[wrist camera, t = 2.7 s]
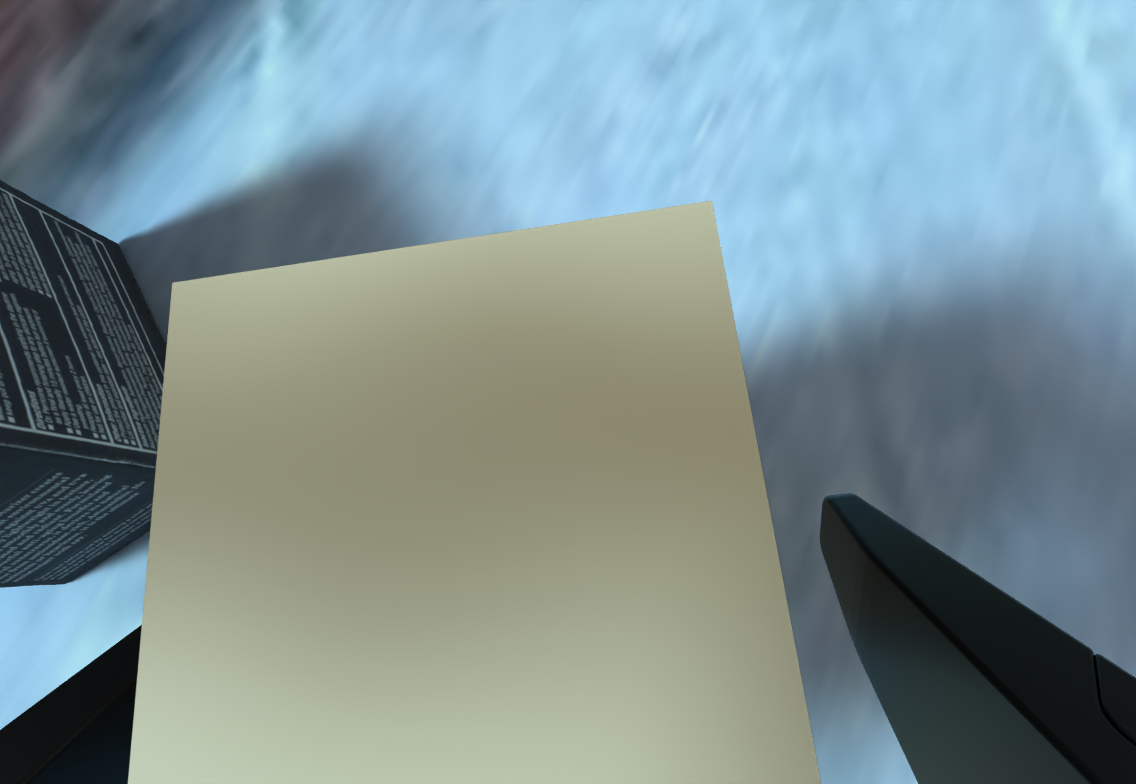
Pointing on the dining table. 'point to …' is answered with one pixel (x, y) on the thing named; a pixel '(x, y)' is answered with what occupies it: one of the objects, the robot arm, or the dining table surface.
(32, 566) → the small box
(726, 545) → the maple block
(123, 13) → the dining table surface
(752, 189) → the dining table surface
